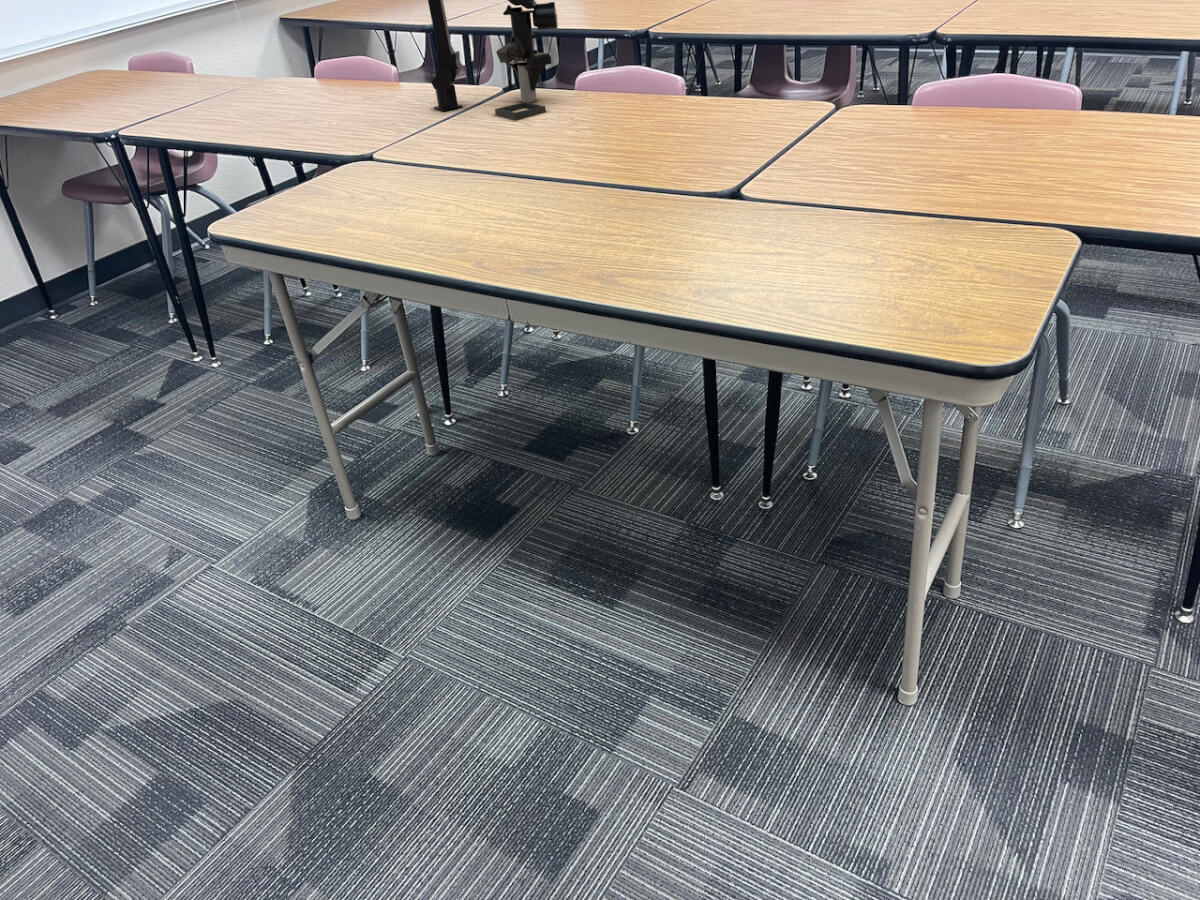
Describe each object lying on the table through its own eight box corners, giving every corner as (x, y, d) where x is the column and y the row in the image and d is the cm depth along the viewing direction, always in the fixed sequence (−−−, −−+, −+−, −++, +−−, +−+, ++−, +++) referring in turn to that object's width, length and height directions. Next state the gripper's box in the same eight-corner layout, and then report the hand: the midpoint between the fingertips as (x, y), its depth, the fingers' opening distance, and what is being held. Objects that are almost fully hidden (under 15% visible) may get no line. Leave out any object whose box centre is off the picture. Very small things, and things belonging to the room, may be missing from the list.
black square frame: (495, 116, 243) (494, 108, 242) (525, 109, 248) (524, 102, 247) (515, 120, 236) (514, 113, 235) (546, 113, 241) (545, 106, 240)
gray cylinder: (537, 98, 254) (534, 61, 248) (535, 102, 251) (531, 65, 245) (523, 99, 255) (518, 62, 249) (520, 103, 251) (516, 66, 245)
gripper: (481, 33, 245) (488, 91, 253) (517, 37, 232) (523, 97, 241) (513, 28, 250) (519, 84, 259) (549, 31, 238) (555, 90, 246)
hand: (528, 89), depth 251 cm, fingers closed on gray cylinder, 4 cm apart
